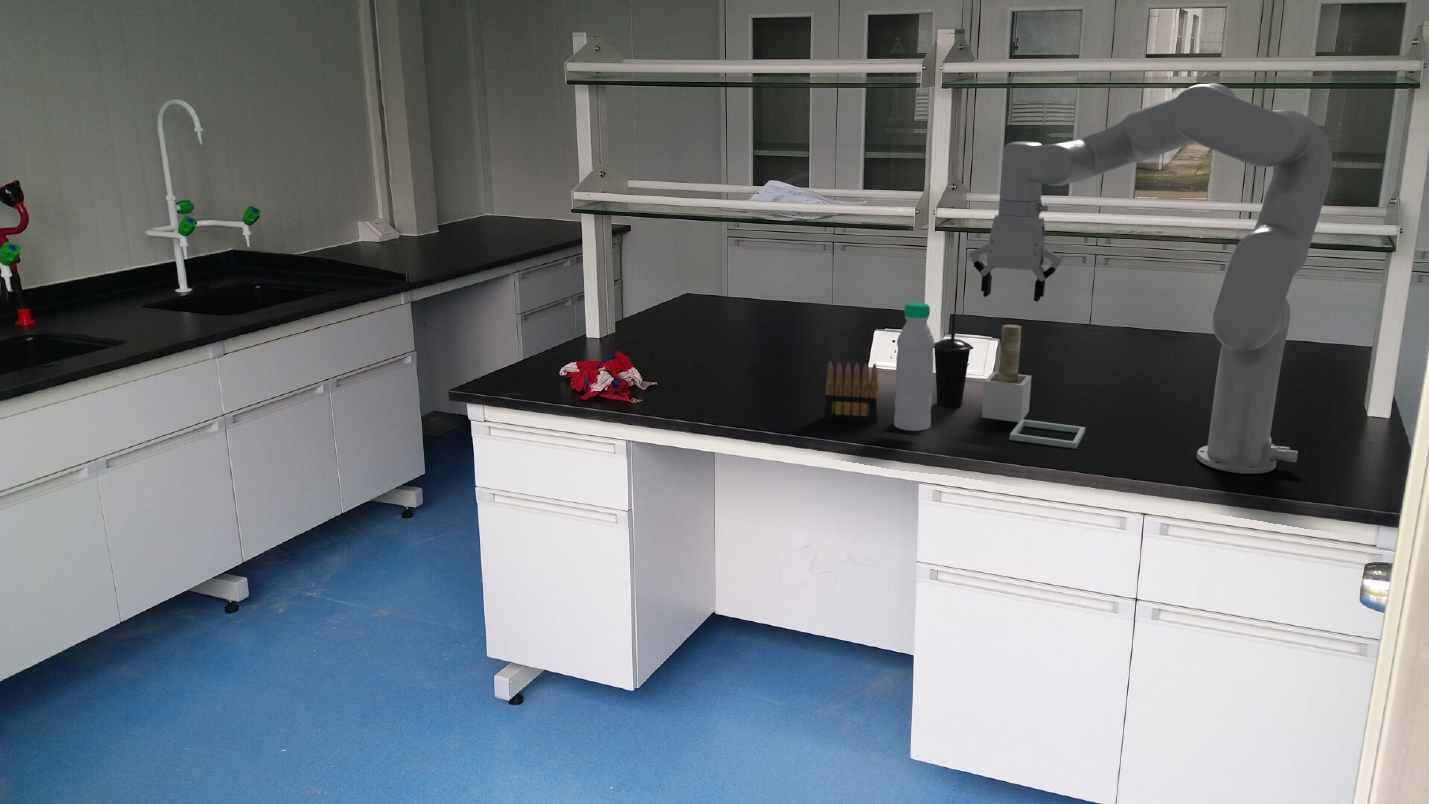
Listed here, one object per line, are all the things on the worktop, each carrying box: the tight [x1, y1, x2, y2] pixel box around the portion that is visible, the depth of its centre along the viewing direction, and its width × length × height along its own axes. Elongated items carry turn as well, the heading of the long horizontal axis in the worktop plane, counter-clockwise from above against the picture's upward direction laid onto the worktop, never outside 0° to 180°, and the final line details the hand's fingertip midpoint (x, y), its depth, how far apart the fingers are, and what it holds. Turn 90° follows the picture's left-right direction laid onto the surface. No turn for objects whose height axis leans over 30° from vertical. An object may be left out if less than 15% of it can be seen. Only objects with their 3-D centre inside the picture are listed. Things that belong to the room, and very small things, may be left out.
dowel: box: [998, 324, 1022, 384], centre depth 208 cm, size 4×4×18 cm
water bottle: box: [893, 302, 935, 432], centre depth 202 cm, size 7×7×25 cm
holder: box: [981, 371, 1032, 423], centre depth 210 cm, size 8×8×8 cm
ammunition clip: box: [823, 360, 879, 424], centre depth 211 cm, size 11×2×12 cm, turn 75°
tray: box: [1009, 419, 1086, 449], centre depth 198 cm, size 12×10×2 cm
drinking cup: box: [933, 313, 973, 409], centre depth 215 cm, size 8×8×20 cm
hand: (1011, 297), depth 204 cm, fingers open, 9 cm apart
